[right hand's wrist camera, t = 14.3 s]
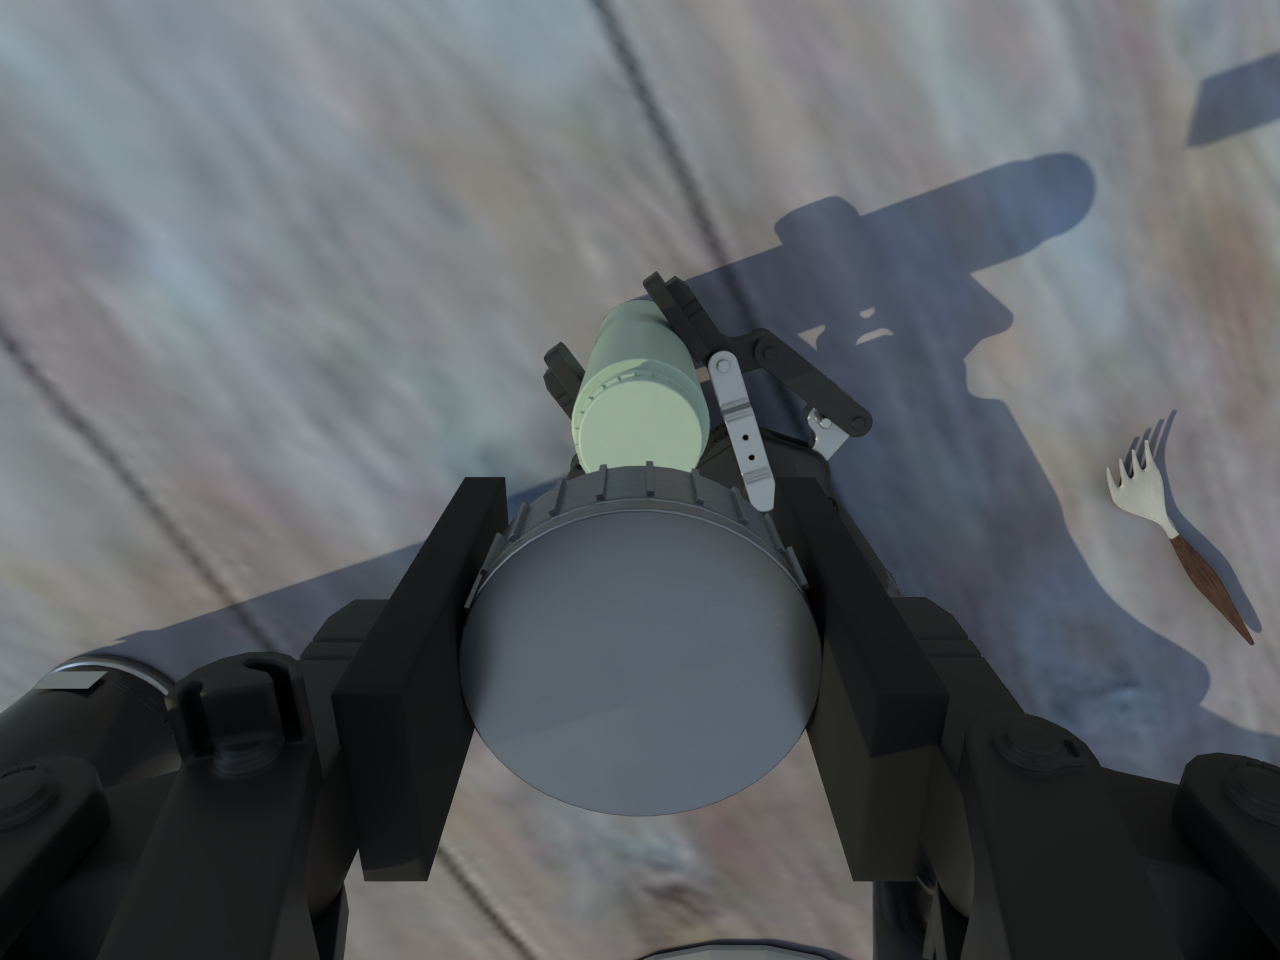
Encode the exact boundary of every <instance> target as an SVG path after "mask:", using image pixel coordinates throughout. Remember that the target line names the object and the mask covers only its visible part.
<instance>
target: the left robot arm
mask: <svg viewBox="0 0 1280 960" xmlns="http://www.w3.org/2000/svg"><path fill="white" fill-rule="evenodd" d="M643 285H644V287H645V289H646V290H647V292H648V293H649V295H650V296H651V298H652V299H653V300H654V302H655V303H656V305H657V306H658V308H659V309H660V310H661V312H662V313H663V315H664V316H665V318H666V319H667V320H668V322H669V323H670V325H671V326H672V328H673V329H674V331H675V332H676V333H677V335H678V336H679V338H680V339H681V340H682V342H683V343H684V344H685V346H686V347H687V349H688V351H689V352H690V353H691V355H692V356H693V358H694V359H695V361H696V362H699V361H700V360H702V362H703V363H704V365H705V366H706V368H707V370H708V373H709V377H710V380H711V383H712V386H713V389H714V392H715V396H716V399H717V403H718V406H719V409H720V412H721V415H722V419H723V423H722V424H720V425H719V426H717V427H716V428H714V429H713V430H711V431H710V432H709V438H708V441H707V445H706V447H705V450H704V452H703V454H702V456H701V458H700V460H699V462H698V464H697V466H696V468H695V469H698V470H699V474H700V476H702V477H705V478H707V479H710V480H713V481H715V482H717V483H719V484H721V485H723V486H725V487H726V488H728V489H730V490H731V489H732V487H733V486H735V487H737V488H738V489H739V490H740V493H741V496H742V498H744V499H745V500H746V501H748V502H749V503H751V504H752V505H753V506H754V507H755V508H756V509H757V510H758V511H759V512H760V513H761V514H762V515H763V516H764V515H765V514H767V513H769V514H770V516H771V517H772V519H773V505H774V491H775V477H815V478H816V479H817V481H818V483H819V484H820V486H821V488H822V489H823V491H824V492H825V494H826V496H827V497H828V499H829V500H830V502H831V504H832V505H833V507H834V508H835V510H836V512H837V513H838V515H839V517H840V518H841V520H842V521H843V523H844V525H845V526H846V528H847V529H848V531H849V533H850V534H851V536H852V537H853V539H854V541H855V542H856V544H857V546H858V547H859V549H860V550H861V552H862V554H863V555H864V557H865V558H866V560H867V562H868V563H869V565H870V566H871V568H872V570H873V571H874V573H875V575H876V576H877V578H878V579H879V581H880V583H881V584H882V586H883V587H884V589H885V591H886V592H887V594H888V595H889V597H904V595H903V594H902V592H901V591H900V589H899V588H898V586H897V585H896V582H895V580H894V578H893V576H892V574H891V573H890V572H889V571H888V570H887V569H886V568H885V567H884V565H883V564H882V563H881V561H880V560H879V558H878V557H877V555H876V554H875V552H874V551H873V549H872V548H871V546H870V545H869V543H868V542H867V540H866V539H865V537H864V536H863V534H862V533H861V531H860V530H859V529H858V527H857V526H856V524H855V523H854V521H853V520H852V518H851V517H850V515H849V514H848V512H847V511H846V509H845V508H844V506H843V505H842V503H841V502H840V500H839V499H838V497H837V496H836V495H835V493H834V492H833V490H832V487H831V483H830V468H829V465H828V462H827V461H828V460H829V459H830V458H831V457H832V455H833V454H834V453H835V452H836V451H837V450H838V449H839V448H840V447H841V445H842V444H843V443H844V442H845V441H846V440H847V439H848V438H849V437H850V436H852V437H860V436H863V435H865V434H866V433H867V432H868V431H869V430H870V428H871V426H872V417H871V415H870V413H869V412H867V411H866V410H865V409H864V408H863V407H862V406H861V405H860V404H859V403H858V402H857V401H855V400H854V399H853V398H852V397H851V396H850V395H848V394H847V393H846V392H845V391H843V390H842V389H841V388H840V387H839V386H837V385H836V384H835V383H834V382H832V381H831V380H830V379H829V378H827V377H826V376H825V375H824V374H822V373H821V372H820V371H819V370H817V369H816V368H815V367H814V366H812V365H811V364H810V363H809V362H807V361H806V360H805V359H804V358H802V357H801V356H800V355H799V354H798V353H796V352H795V351H794V350H793V349H791V348H790V347H789V346H788V345H786V344H785V343H784V342H783V341H781V340H780V339H779V338H778V337H776V336H775V335H774V334H773V333H771V332H770V331H769V330H767V329H764V328H759V329H756V330H754V331H752V332H751V333H749V334H746V335H742V336H739V337H727V336H724V335H723V334H721V333H720V332H719V331H718V330H717V328H716V327H715V325H714V324H713V322H712V321H711V319H710V318H709V316H708V315H707V313H706V312H705V310H704V309H703V307H702V306H701V304H700V303H699V302H698V300H697V299H696V297H695V296H694V294H693V293H692V291H691V290H690V288H689V287H688V285H687V284H686V283H685V282H684V281H682V280H681V279H679V278H678V277H676V276H674V277H673V278H671V279H670V280H669V281H667V282H666V283H665V282H664V281H663V279H662V278H661V276H660V275H659V273H658V272H657V271H656V272H655V273H653V274H652V275H651V276H649V277H648V278H646V279H645V280H644V281H643ZM544 360H545V362H546V364H547V366H548V367H549V369H547V371H546V373H545V374H544V376H543V377H544V381H545V384H546V387H547V390H548V391H549V392H550V394H551V395H552V396H553V397H554V399H555V400H556V401H557V402H558V404H559V405H560V406H561V407H562V408H563V410H564V411H565V413H566V414H567V415H568V416H569V418H570V419H571V420H572V413H573V409H574V405H575V402H576V399H577V396H578V393H579V390H580V387H581V384H582V381H583V378H584V375H585V370H584V369H583V368H582V366H581V365H580V364H579V363H578V361H577V360H576V359H575V357H574V356H573V355H572V353H571V352H570V351H569V349H568V348H567V347H566V346H565V345H564V344H563V343H562V342H560V343H558V344H557V345H556V346H554V347H553V348H552V349H550V350H549V351H548V352H547V353H546V355H545V356H544ZM762 367H763V368H764V369H766V370H767V371H768V372H769V373H771V374H772V375H773V376H775V377H776V378H777V379H778V380H780V381H781V382H782V383H783V384H785V385H786V386H787V387H788V388H790V389H791V390H792V391H794V392H795V393H796V394H797V395H799V396H800V397H801V398H802V399H804V400H805V401H806V402H807V403H808V404H807V405H806V407H805V409H804V413H803V416H804V419H805V421H806V422H807V424H808V425H809V426H810V428H811V437H810V440H809V441H808V442H805V441H802V440H799V439H796V438H793V437H790V436H787V435H784V434H781V433H777V432H774V431H771V430H768V429H765V428H762V427H759V426H758V425H757V422H756V418H755V415H754V412H753V409H752V406H751V403H750V400H749V397H748V394H747V391H746V387H745V384H744V381H743V377H742V374H741V373H744V372H747V371H751V370H755V369H758V368H762ZM584 474H586V473H585V471H584V469H583V468H582V466H581V465H580V463H579V459H578V455H577V454H576V455H574V457H573V459H572V462H571V469H570V472H569V474H568V477H567V481H569V480H571V479H573V478H576V477H578V476H581V475H584ZM174 686H175V685H174V684H173V683H171V682H170V681H169V680H168V679H167V678H165V677H164V676H162V675H161V674H160V673H158V672H156V671H155V670H153V669H151V668H149V667H147V666H145V665H143V664H140V663H138V662H135V661H132V660H129V659H125V658H121V657H116V656H109V655H88V656H82V657H78V658H74V659H71V660H68V661H66V662H64V663H62V664H60V665H59V666H57V667H56V668H54V669H53V670H52V671H51V672H49V673H48V674H47V675H46V676H44V677H43V678H42V679H41V680H40V681H39V682H38V683H37V684H36V685H35V686H34V687H33V688H32V689H31V690H30V691H29V692H28V693H26V694H25V695H24V696H22V697H21V698H20V699H19V700H17V701H16V702H15V703H14V704H12V705H11V706H10V707H8V708H7V709H6V710H4V711H3V712H2V713H0V772H1V771H3V770H5V769H8V768H11V767H13V766H16V765H21V764H23V763H26V762H30V761H33V760H36V759H43V758H51V757H58V756H69V757H76V758H83V759H85V760H87V761H88V762H89V763H90V764H91V765H93V766H94V767H95V768H96V770H97V773H98V776H99V779H100V782H101V785H102V788H104V787H109V786H114V785H118V784H123V783H127V782H132V781H136V780H141V779H145V778H150V777H155V776H159V775H163V774H167V773H170V772H174V771H177V770H179V768H180V765H181V763H182V761H181V757H180V753H179V750H178V746H177V743H176V739H175V736H174V732H173V729H172V725H171V722H170V718H169V714H168V711H167V707H166V704H165V700H164V697H165V696H166V695H167V694H168V693H169V691H170V690H171V689H172V688H173V687H174ZM936 880H937V877H936V875H935V872H934V870H933V868H932V865H931V863H930V861H929V859H928V856H927V854H926V852H925V849H924V847H923V845H922V851H921V856H920V862H919V867H918V872H917V878H916V881H872V882H873V960H929V959H925V958H922V955H923V948H924V941H925V936H926V931H927V926H928V921H929V916H930V911H931V905H932V900H933V895H934V890H935V885H936ZM932 960H937V957H936V948H935V949H934V954H933V959H932Z"/></svg>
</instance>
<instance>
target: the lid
mask: <svg viewBox="0 0 1280 960" xmlns="http://www.w3.org/2000/svg"><path fill="white" fill-rule="evenodd" d="M807 589H810V587H809V584H808V582H807V580H806V577H805V575H804V573H803V570H802V568H801V566H800V564H799V561H798V559H797V557H796V554H795V552H794V550H793V548H792V546H790V547H788V548H786V546H785V544H784V543H783V541H782V539H781V537H780V536H779V534H778V531H777V529H776V526H775V524H774V521H773V519H772V517H771V516H770V514H769V513H767V514H765V515H764V516H763V515H762V514H761V513H760V512H759V511H758V510H757V509H756V508H755V507H754V506H753V505H752V504H751V503H749V502H748V501H746V500H745V499H744V498H742V496H741V493H740V490H739V489H738V488H737V487H735V486H733V487H732V489H731V490H730V489H728V488H726V487H725V486H723V485H721V484H719V483H717V482H715V481H713V480H710V479H707V478H705V477H702V476H700V474H699V470H698V469H694V468H692V469H691V472H686V471H682V470H678V469H674V468H667V467H657V466H653V461H646V466H622V467H615V468H608V467H607V464H603V465H600V467H599V471H595V472H591V473H587V474H584V475H581V476H578V477H576V478H573V479H571V480H569V481H566V482H565V481H564V479H563V478H561V479H559V480H557V481H556V485H555V488H553V489H551V490H549V491H547V492H546V493H544V494H543V495H541V496H540V497H539V498H537V499H536V500H535V501H533V502H532V503H531V504H528V503H527V502H526V501H525V502H524V503H523V504H521V506H520V509H519V511H518V514H517V516H516V518H515V519H514V520H513V521H512V522H511V523H510V525H509V526H508V527H507V529H506V530H505V531H504V533H503V534H502V535H501V534H500V533H498V532H497V534H496V535H495V537H494V539H493V541H492V544H491V546H490V548H489V551H488V553H487V555H486V558H485V560H484V562H483V565H482V567H481V568H480V570H479V572H478V575H477V577H476V579H475V582H474V584H473V586H472V589H471V591H470V593H469V596H468V598H467V600H466V603H465V605H464V608H463V611H462V612H463V613H466V617H465V620H464V623H463V625H462V629H461V634H460V640H459V645H458V668H459V678H460V687H461V693H462V697H463V700H464V704H465V707H466V710H467V712H468V714H469V716H470V719H471V721H472V723H473V725H474V727H475V729H476V730H477V732H478V733H479V735H480V737H481V738H482V740H483V741H484V743H485V744H486V745H487V747H488V748H489V749H490V750H491V751H492V753H493V754H494V755H495V756H496V757H497V759H498V760H500V761H501V762H502V763H503V764H504V765H505V766H506V767H507V768H508V769H509V770H510V771H511V772H513V773H514V774H515V775H517V776H518V777H519V778H521V779H522V780H523V781H525V782H526V783H528V784H529V785H531V786H532V787H534V788H536V789H538V790H539V791H541V792H543V793H545V794H547V795H548V796H551V797H553V798H555V799H558V800H560V801H563V802H565V803H567V804H570V805H573V806H577V807H580V808H583V809H587V810H591V811H596V812H601V813H606V814H613V815H624V816H658V815H667V814H676V813H680V812H685V811H690V810H694V809H698V808H701V807H704V806H707V805H710V804H713V803H716V802H719V801H721V800H723V799H725V798H728V797H730V796H732V795H734V794H736V793H738V792H740V791H742V790H743V789H745V788H747V787H748V786H750V785H752V784H753V783H755V782H756V781H758V780H759V779H760V778H762V777H763V776H764V775H765V774H767V773H768V772H769V771H771V770H772V769H773V768H774V767H775V766H776V765H777V764H778V763H779V762H780V761H781V760H782V759H783V758H784V757H785V756H786V755H787V754H788V753H789V751H790V750H791V749H792V748H793V746H794V745H795V744H796V742H797V741H798V740H799V738H800V737H801V735H802V733H803V732H804V730H805V728H806V727H807V725H808V723H809V721H810V719H811V716H812V714H813V711H814V709H815V707H816V704H817V701H818V697H819V691H820V683H821V673H822V663H823V645H822V639H821V635H820V630H819V626H818V622H817V619H816V617H815V614H814V612H813V609H812V607H811V604H810V602H809V600H808V597H807V595H806V593H805V590H807Z"/></svg>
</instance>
